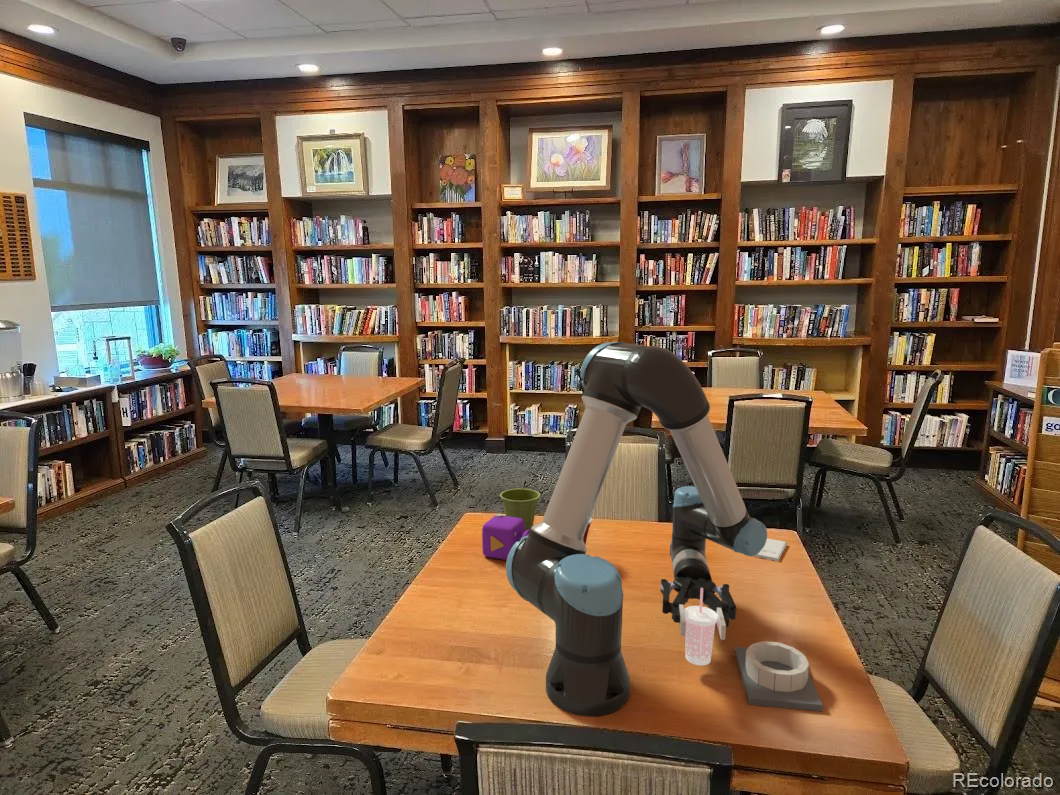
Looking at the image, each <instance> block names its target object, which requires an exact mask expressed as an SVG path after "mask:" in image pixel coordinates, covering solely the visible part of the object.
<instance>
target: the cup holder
mask: <svg viewBox="0 0 1060 795" xmlns="http://www.w3.org/2000/svg"><path fill="white" fill-rule="evenodd" d="M734 655H735V658H736V661H737V665H738V668H739V672H740V675H741V676H740V677H741V680H742V683H743V687H744V691H745V693H746V694H745V695H746V698H747V703H748V705H752V706H761V707H772V708H782V709H794V710H804V711H814V712H823V709H824V705H823V702H822V699H821V698H820V695H819V693H818V691H817V688H816V686H815V685H814V682H813V680H812V677H811V675H810V672H809V667H810V666H809V665H810V663H809V661H808V659H807V657H806V655H805V654H804V653H803V652H801V651H800V650H798V649H796V647H793V646H790V645H788V644H784V643H782V642H778V641H765V640H764V641H763V640H762V641H759V642H755V643H751V644H750V646H749V647H744V646H743V647H742V646H741V647H740V646H735V647H734Z"/></svg>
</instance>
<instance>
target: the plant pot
mask: <svg viewBox="0 0 1060 795" xmlns="http://www.w3.org/2000/svg"><path fill="white" fill-rule="evenodd" d="M499 496H500V498H501V499H502V500H501V501H502V504H503V507H504V513H505V514H504V516H509V517H516V518H521V519H523V520H524V523H525V531H527V530H529V529H531V527H532V526H534V521H535V517H536V510H537V505H538V502H539V498H540V497H541V494H540V492H539V491H537V490H534V489H529V488H511V489H506V490H504V491H502V492H500V494H499Z"/></svg>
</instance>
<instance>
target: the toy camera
mask: <svg viewBox="0 0 1060 795" xmlns="http://www.w3.org/2000/svg"><path fill="white" fill-rule="evenodd" d="M481 530H482V533H481V534H482V535H481V536H482V537H481V539H482V542H481V543H482V546H481V547H482V554H483V555H484V557H488V558H492V559H498V560H504V561H507V557H508V554H509V552H510V550H511V548H512V547H513V545H514V544H515V543H516V542H519V541H520V539H521V538H522V537H524V536H527V535H529V532H530V530H531V529H529V530H527V531H525V523H524V520H523V519H521V518H516V517H509V516H506V515H503V513H497V514H496V515H494V516H492V518H490V519H489V520H488V521H486V522H485V523H484V524H483V525H482V528H481Z"/></svg>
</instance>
